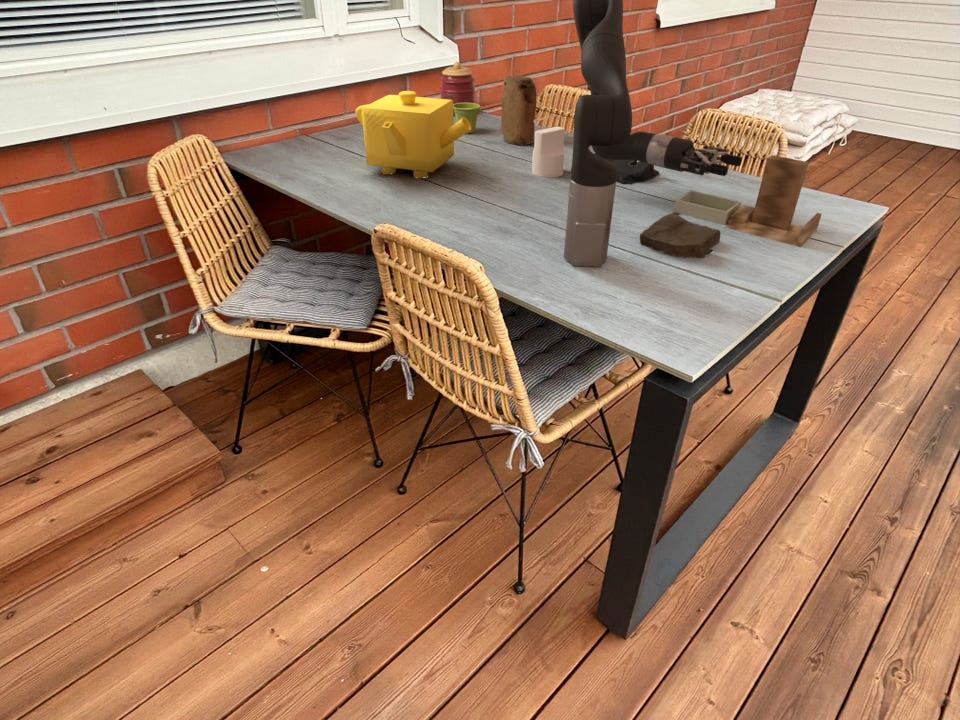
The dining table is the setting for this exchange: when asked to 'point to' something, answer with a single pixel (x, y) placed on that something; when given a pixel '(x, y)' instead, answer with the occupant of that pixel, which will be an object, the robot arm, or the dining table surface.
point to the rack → (793, 236)
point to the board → (779, 192)
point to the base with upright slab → (548, 152)
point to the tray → (706, 207)
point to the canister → (457, 84)
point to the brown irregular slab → (680, 237)
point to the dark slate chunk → (633, 171)
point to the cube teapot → (410, 132)
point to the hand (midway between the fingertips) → (734, 166)
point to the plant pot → (467, 113)
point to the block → (518, 110)
